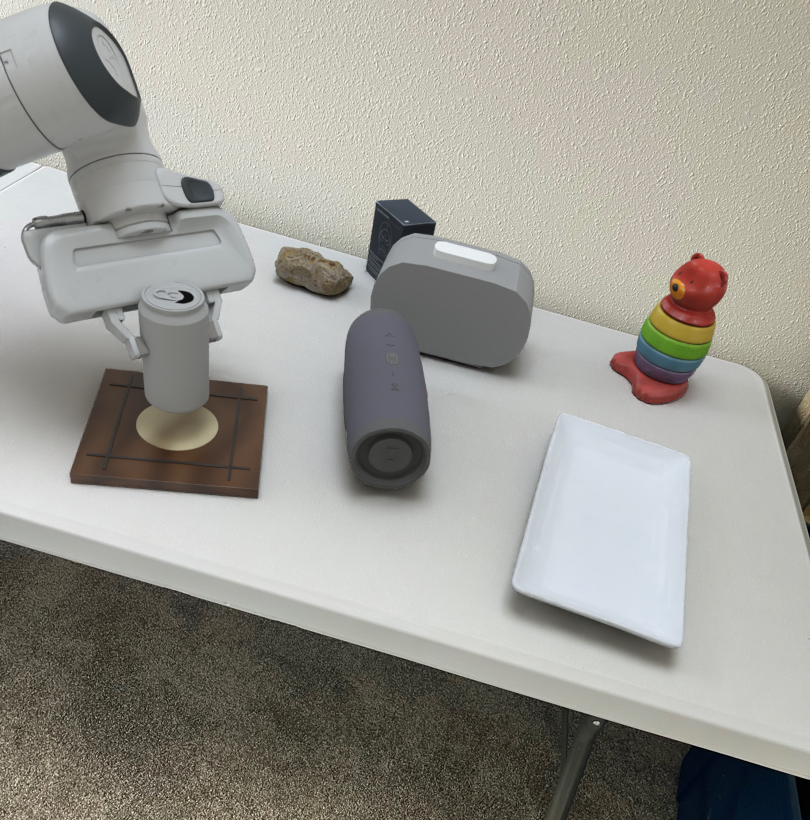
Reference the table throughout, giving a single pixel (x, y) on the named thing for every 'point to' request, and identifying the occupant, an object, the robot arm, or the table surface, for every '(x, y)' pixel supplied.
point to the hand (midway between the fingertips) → (178, 349)
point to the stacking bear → (675, 333)
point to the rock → (312, 271)
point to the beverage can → (175, 346)
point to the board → (173, 439)
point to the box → (394, 229)
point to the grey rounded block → (458, 298)
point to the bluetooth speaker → (385, 401)
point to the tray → (609, 531)
